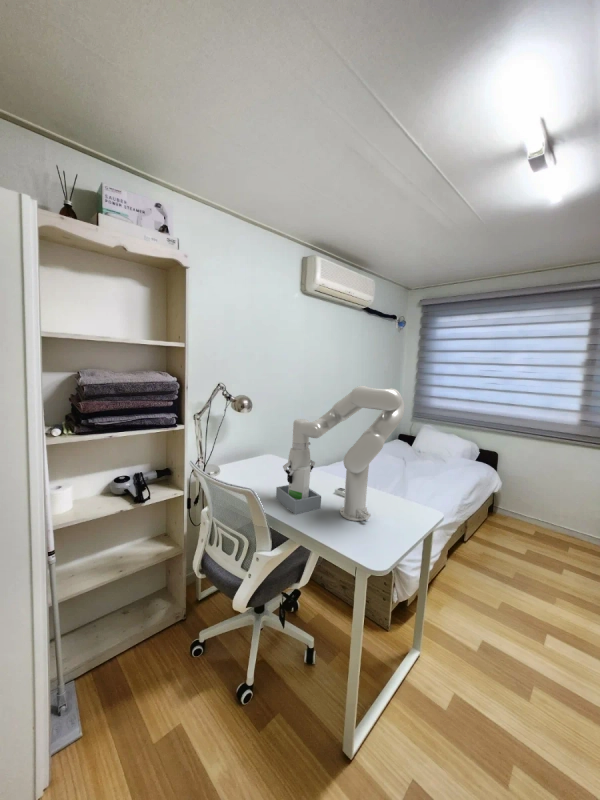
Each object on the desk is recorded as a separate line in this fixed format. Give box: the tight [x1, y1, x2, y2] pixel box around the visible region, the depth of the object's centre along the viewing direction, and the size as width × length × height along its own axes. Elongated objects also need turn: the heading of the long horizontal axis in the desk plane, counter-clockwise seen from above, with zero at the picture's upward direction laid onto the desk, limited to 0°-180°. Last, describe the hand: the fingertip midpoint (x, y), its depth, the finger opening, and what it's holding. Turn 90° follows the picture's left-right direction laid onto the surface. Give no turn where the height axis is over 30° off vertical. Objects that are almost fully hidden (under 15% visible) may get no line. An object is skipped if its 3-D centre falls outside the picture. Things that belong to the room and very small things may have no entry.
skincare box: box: [288, 466, 311, 500], centre depth 145 cm, size 8×7×16 cm
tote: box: [275, 484, 322, 515], centre depth 146 cm, size 18×14×6 cm
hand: (298, 481), depth 145 cm, fingers closed on skincare box, 9 cm apart
